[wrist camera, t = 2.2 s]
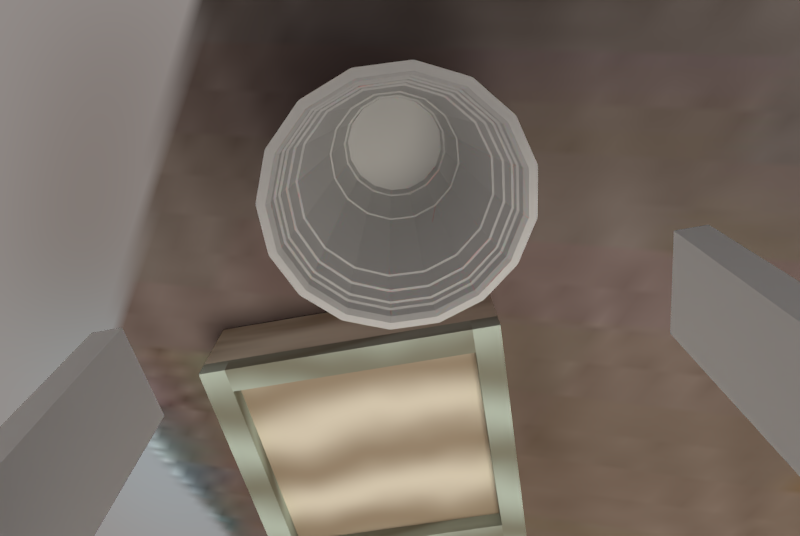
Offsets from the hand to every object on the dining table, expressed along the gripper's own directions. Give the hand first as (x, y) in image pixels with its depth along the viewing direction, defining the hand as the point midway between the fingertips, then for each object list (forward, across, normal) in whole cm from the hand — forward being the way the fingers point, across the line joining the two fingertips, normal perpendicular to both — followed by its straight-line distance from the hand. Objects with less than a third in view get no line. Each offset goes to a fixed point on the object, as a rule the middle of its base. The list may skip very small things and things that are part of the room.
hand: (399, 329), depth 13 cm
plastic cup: (+20, 0, 0) cm, 20 cm away
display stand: (+20, -5, -19) cm, 28 cm away
